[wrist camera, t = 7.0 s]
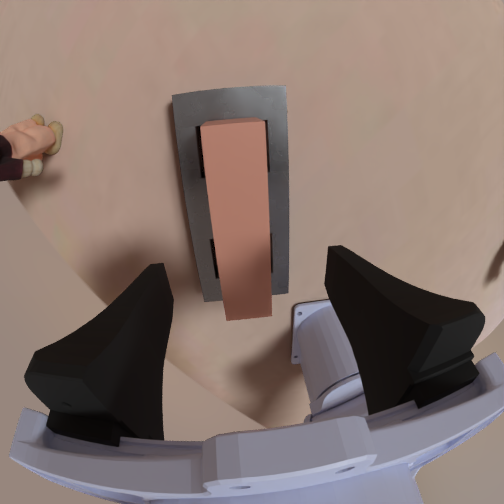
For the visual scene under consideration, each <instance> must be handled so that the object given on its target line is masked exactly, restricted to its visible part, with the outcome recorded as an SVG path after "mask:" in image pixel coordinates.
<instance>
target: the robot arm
mask: <svg viewBox="0 0 504 504" xmlns="http://www.w3.org/2000/svg"><path fill="white" fill-rule="evenodd" d="M324 284H325V287H326V290H327V294H328V297H329V299H330V300H324V301H317V302H310V303H303V304H298V305H296V306H295V307H294V321H293V338H292V353H291V362H292V364H299V363H300V364H301V368H302V372H303V376H304V380H305V383H306V387H307V391H308V395H309V399H310V402H311V403H310V404H309V405H310V409H311V413H312V414H309V415H307V416H306V417H305V419H304V423H301V424H295V425H289V426H283V427H276V428H268V429H260V430H250V431H238V432H232V433H225V434H219V435H216V436H214V437H211V438H209V439H207V440H206V441H164V432H163V413H162V383H163V367H164V359H165V354H166V348H167V343H168V338H169V333H170V328H171V323H172V317H173V302H174V299H173V295H172V292H171V289H170V285H169V282H168V278H167V274H166V271H165V267H164V263H158V264H150V265H149V266H148V267H147V268H146V269H145V270H144V271H143V272H142V273H141V274H140V275H139V276H138V277H137V278H136V279H135V280H134V281H133V282H132V283H131V284H130V286H129V287H128V288H127V289H126V290H125V291H124V292H123V293H122V294H121V295H120V296H118V297H117V298H116V299H115V300H114V301H113V302H112V303H111V304H110V305H109V306H108V307H107V308H106V309H104V310H103V311H102V312H101V313H100V314H98V315H97V316H96V317H95V318H93V319H92V320H91V321H89V322H88V323H86V324H85V325H83V326H82V327H80V328H79V329H77V330H76V331H74V332H73V333H71V334H69V335H68V336H66V337H64V338H62V339H61V340H59V341H57V342H55V343H53V344H51V345H48V346H46V347H44V348H42V349H40V350H38V351H36V352H35V353H34V355H33V357H32V359H31V361H30V364H29V366H28V368H27V370H26V373H25V375H24V378H25V382H26V384H27V386H28V387H29V389H30V390H31V391H32V392H33V393H34V394H35V395H36V396H37V397H38V398H39V399H40V400H41V401H42V402H43V403H44V404H45V405H46V406H47V407H48V408H49V409H50V413H49V416H47V415H46V414H44V413H41V412H38V411H35V410H32V409H28V408H23V410H22V413H21V416H20V419H19V422H18V425H17V428H16V431H15V435H14V438H13V442H12V446H11V450H10V454H9V457H10V458H11V459H12V460H14V461H16V462H17V463H19V464H21V465H22V466H24V467H25V468H27V469H29V470H31V471H32V472H34V473H36V474H38V475H39V476H41V477H43V478H45V479H47V480H49V481H52V482H55V483H57V484H60V485H62V486H65V487H68V488H70V489H73V490H76V491H79V492H82V493H85V494H88V495H91V496H95V497H98V498H102V499H105V500H109V501H113V502H117V503H121V504H423V500H422V497H421V494H420V492H419V489H418V486H417V483H416V481H415V478H414V477H415V475H416V473H417V472H418V471H419V469H420V468H421V467H422V466H424V465H426V464H427V463H429V462H431V461H433V460H435V459H437V458H438V457H440V456H442V455H444V454H445V453H447V452H449V451H450V450H452V449H453V448H455V447H457V446H458V445H460V444H461V443H463V442H465V441H466V440H468V439H469V438H471V437H472V436H474V435H475V434H476V433H478V432H479V431H481V430H482V429H484V428H485V427H486V426H488V425H489V424H490V423H491V422H492V421H494V420H495V419H496V418H497V417H498V416H499V415H500V414H501V413H502V412H504V364H503V362H502V361H501V359H500V358H499V357H498V355H497V354H496V353H495V352H494V353H492V354H490V355H489V356H487V357H485V358H483V359H482V360H480V361H479V362H478V363H476V365H474V364H473V362H472V359H473V358H474V354H473V353H472V351H471V348H472V347H473V345H474V344H475V342H476V340H477V339H478V337H479V335H480V334H481V332H482V330H483V327H484V324H485V316H484V314H483V313H482V312H481V311H480V309H479V308H478V307H477V306H476V304H475V303H473V302H469V301H463V300H458V299H453V298H449V297H445V296H441V295H438V294H435V293H432V292H429V291H426V290H423V289H420V288H418V287H415V286H413V285H411V284H408V283H406V282H404V281H402V280H400V279H398V278H396V277H394V276H392V275H390V274H388V273H387V272H385V271H383V270H381V269H379V268H378V267H376V266H374V265H373V264H371V263H370V262H368V261H366V260H365V259H363V258H362V257H360V256H358V255H357V254H355V253H354V252H352V251H350V250H349V249H347V248H345V247H343V246H341V245H338V246H328V254H327V265H326V274H325V283H324ZM298 312H300V313H298Z"/></svg>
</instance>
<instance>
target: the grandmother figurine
mask: <svg viewBox="0 0 504 504" xmlns="http://www.w3.org/2000/svg"><path fill="white" fill-rule="evenodd" d="M62 133H63V127H62V125H61V124H60V123H59V122H56V121H53V122H51V123H50V124H49V125H48V127H47V126H44V119H43V117H42V116H41V115H39V114H36V115H34V116H33V117H32V118H31V119H28V120H25V121H22V122H20V123H17V124H14V125H11V126H9V127H8V128H7V129H5V130H4V131H2V132H0V181H7V180H19V179H21V178H24V177H28V176H30V175H32V176H38V175H40V174H41V172H42V171H43V163H42V159H43V155H42V153H43V152H44V153H46V154H50V155H53V154H56V153H57V152H58V151H59V149H60V146H61V139H62Z"/></svg>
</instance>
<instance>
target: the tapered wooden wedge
mask: <svg viewBox="0 0 504 504" xmlns="http://www.w3.org/2000/svg"><path fill="white" fill-rule="evenodd" d="M200 130H201V140H202V149H203V158H204V167H205V176H206V184H207V192H208V200H209V208H210V215H211V223H212V230H213V237H214V244H215V251H216V258H217V265H218V271H219V278H220V284H221V290H222V296H223V303H224V309H225V315H226V320H227V321H230V320H241V319H250V318H259V317H268V316H272V294H271V255H270V224H269V197H268V173H267V151H266V131H265V121H263V120H261V119H259V118H257V117H250V118H236V119H225V120H215V121H206V122H205V123H204V124H203V125H202V126H201V127H200Z"/></svg>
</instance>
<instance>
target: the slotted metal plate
mask: <svg viewBox="0 0 504 504" xmlns="http://www.w3.org/2000/svg"><path fill="white" fill-rule="evenodd" d="M172 102H173V112H174V121H175V130H176V138H177V146H178V154H179V161H180V168H181V175H182V182H183V189H184V195H185V201H186V207H187V213H188V219H189V225H190V231H191V236H192V242H193V247H194V253H195V258H196V263H197V268H198V273H199V278H200V283H201V288H202V292H203V297H204V302H209V301H221V300H223V296H222V290H221V284H220V278H219V271H218V265H216V261H215V254H214V248H213V241H212V239H214V237H213V230H212V223H211V215H210V208H209V200H208V192H207V184H206V176H205V171H203V165H202V156H201V147H200V138H199V128H198V126H201V125H203V124H204V123H205V122H206V121H215V120H225V119H236V118H250V117H257V118H259V119H261V120H263V121H265V131H266V151H267V173H268V197H269V224H270V255H271V294H272V295H278V294H286V293H288V286H289V160H288V126H287V102H286V86H250V87H234V88H223V89H213V90H204V91H196V92H189V93H182V94H176V95H172Z"/></svg>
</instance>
